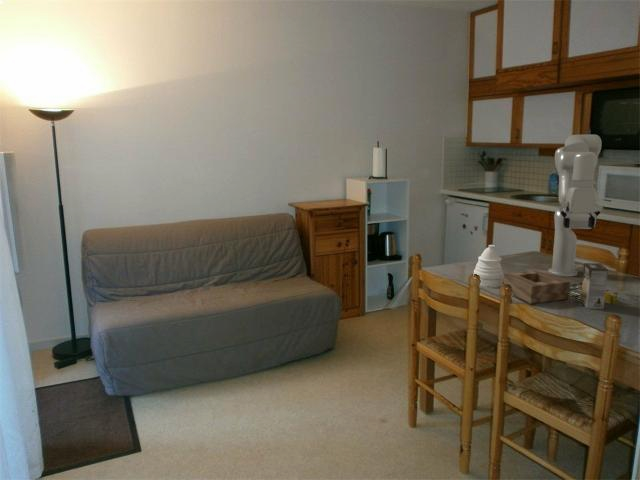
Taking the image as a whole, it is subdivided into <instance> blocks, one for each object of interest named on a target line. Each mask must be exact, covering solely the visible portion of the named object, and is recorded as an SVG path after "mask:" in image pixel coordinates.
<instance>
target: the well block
mask: <svg viewBox="0 0 640 480" xmlns="http://www.w3.org/2000/svg"><path fill="white" fill-rule="evenodd" d="M504 284H509V285H511V287H512V289H513V296H512V297H513V298H515V299H517V300H518V301H521V302H523V303H525V304H527V305H529V306H537V305H544V304H554V303H561V302H568V301H569V300H570V299H569V298H570V291H571V290H570V289H571V281H569V280H567V279H564V278H562V277H560V276H557V275H553V274H550V273H549V272H546V271H544V270H540V269H538V270H529V271H519V272H511V273H503V285H504Z"/></svg>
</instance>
